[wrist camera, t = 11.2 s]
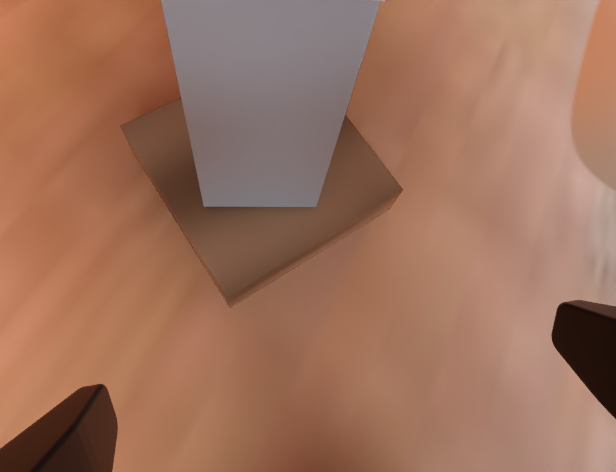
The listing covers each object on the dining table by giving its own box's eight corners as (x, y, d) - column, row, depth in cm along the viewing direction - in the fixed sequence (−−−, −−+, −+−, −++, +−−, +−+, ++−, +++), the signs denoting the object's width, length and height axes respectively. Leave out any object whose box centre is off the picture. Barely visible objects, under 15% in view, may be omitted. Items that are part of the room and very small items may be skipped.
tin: (318, 209, 22) (395, -29, 10) (201, 208, 21) (145, -48, 10) (312, 113, 24) (371, -175, 12) (205, 110, 23) (162, -199, 12)
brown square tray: (386, 212, 26) (403, 189, 23) (230, 309, 23) (227, 297, 20) (288, 81, 28) (292, 46, 25) (135, 156, 25) (120, 125, 22)
